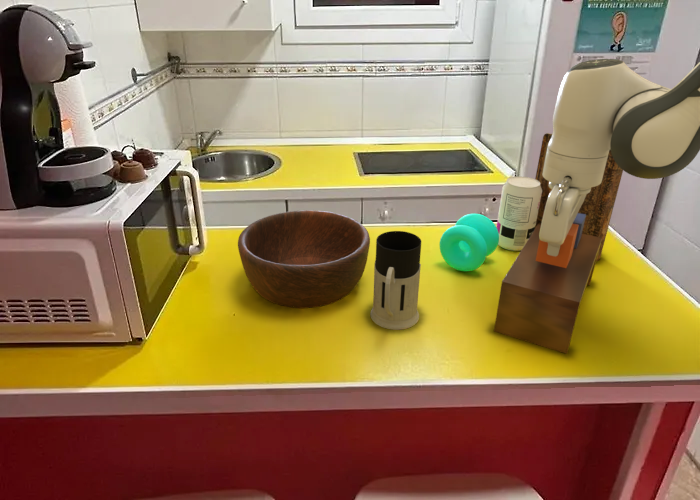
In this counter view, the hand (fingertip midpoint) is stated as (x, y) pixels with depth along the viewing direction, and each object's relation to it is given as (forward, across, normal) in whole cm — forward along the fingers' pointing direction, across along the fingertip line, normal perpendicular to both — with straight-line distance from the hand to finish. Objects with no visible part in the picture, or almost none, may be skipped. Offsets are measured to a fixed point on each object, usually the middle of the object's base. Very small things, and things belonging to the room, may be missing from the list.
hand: (556, 246), depth 88 cm
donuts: (+14, +11, +18) cm, 25 cm away
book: (+14, +29, +2) cm, 32 cm away
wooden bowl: (+14, -13, +43) cm, 47 cm away
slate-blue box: (+4, +11, 0) cm, 12 cm away
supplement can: (+14, +25, +12) cm, 31 cm away
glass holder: (+14, -17, +22) cm, 31 cm away
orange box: (+2, 0, 0) cm, 2 cm away
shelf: (+14, +3, 0) cm, 14 cm away
